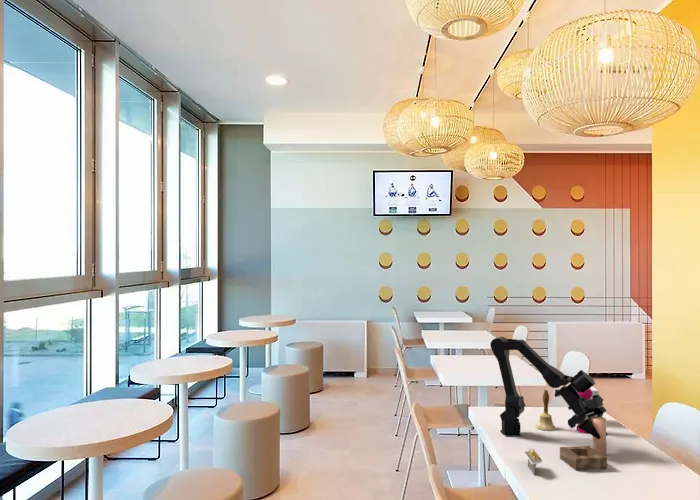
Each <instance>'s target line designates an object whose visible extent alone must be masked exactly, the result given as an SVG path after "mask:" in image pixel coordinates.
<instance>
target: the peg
mask: <svg viewBox="0 0 700 500" xmlns="http://www.w3.org/2000/svg"><path fill="white" fill-rule="evenodd" d="M592 424H593V426H594V427H595V429H596V430H597V432H598V433H599V435H600V437H601V438H600V439H597V438H596V437H594V436H592V448H593V449H594V450H596V451H597V452H599V453H601V454H602V455H604V456H605V457H607V436H606V432H607V419H606V417H603V416H602V417H592Z"/></svg>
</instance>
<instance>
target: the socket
mask: <svg viewBox="0 0 700 500" xmlns="http://www.w3.org/2000/svg"><path fill="white" fill-rule="evenodd" d="M559 459H560V460H561V461H563V462H564V463H565V464H566V465H568V466H569V467H571V468H572V469H573V470H575V472H578V471H579V472H580V471H596V470H599V471H600V470H607V469H608V464H607V463H608V458H607V456H604V455H602V454H601V453H599V452H597V451H596V450H594V449H593V447H591V446H590V445H585V446H584V445H583V446H581V445H580V446H559Z"/></svg>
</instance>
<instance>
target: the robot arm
mask: <svg viewBox="0 0 700 500" xmlns="http://www.w3.org/2000/svg"><path fill="white" fill-rule="evenodd" d="M490 349H491V351H492V354H493V355H494V357H495V359H496V360H497V362H498V366H499V367H498V368H499V371H500V375H501V379H502V384H503V388H504V393H505V400H504V406H505V407H504V408H505V410H504V411H503V412H502V413H500V414H499V417H500V420H501V429H500V430H499V431H500V432H501V434H503V435H504V436H505V437H517V436H518V437H521V436H522V434H521V422H520V419H519V418H520V415H522V413H524V411H525V407H526V406H527V405H526V404H525V400H524V396H523V395H521V396H520V394H519V393H518V391H517V387H516V382H515V378H514V373H513V370H512V366H511V362H510V351H518V352H519V353H520V354H521V355H522V356H523V357H524V358H525V359H526V360H528V362H529V363H531V365H532V366H533V367H534V368H536V369H537V371H538V372H539V373H540V375H541V376H542V378H543V379H544V381H545V383H546V384H547V385H548V386H549V387H550V388H552V389H555V390H554V397H555V398H556V397H557V398H559V397H560V396H561V398H562V399H563V400H564V402H565V403H566V404H567V405H568V407H567V409H568V410H569V411H572V410H573V412H574V413H575V415H574V416H571V417H570V418H569V419H567V425H568V426H569V428H570V429H574V428H575V427H576V429H577V428H580V429H582V430H583V431H585V432H587V433H586V434H588V435H590V436H592V437H593V436H594V437H596V438H597V439H600V438H601V437H600V435H599V433H598V432H597V430H596V429H595V427H594V426H593V424H592V417H603V416H604V413H605V412H607V409H606V408H605V407H604V403H603V402H604V398H603V397H602V396H600V394H599V395H594V396H593V399H590V400H587V399H586V398H584V397H583V398H582V397H581V396H580V395H579V394H578V392H582V393H584V392H585V391H587V390H588V389H589V388H591V387H594V385H596V382H595V379H594V378H593V377H592V376H591V375H589V374H588V373H587V372H585V371H584V370H582V369H580V370H579V371H578V372H577V373H576V374H575V375H574V376H569V375H567V374H564V373H563V372H562V371H561V370H559V369H558V368H556V367H554V366H552V365H551V364H549V363H548V362H546V360H545V359H544V358H542V356H540V355H539V353H537V352H536V351H535V350H534V349H533V348H532V347H531V346H530V345H529V344H528V343H527V342H526V341H525V339H516V338H515V339H513V338H506V337H505V336H498V337H495V338H493V339H492V340H491V342H490ZM560 387H561V388H560ZM558 388H559V389H558ZM577 423H578V424H579V426H578V427H577V425H578V424H577ZM607 436H608V432H607V431H606V437H607Z"/></svg>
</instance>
